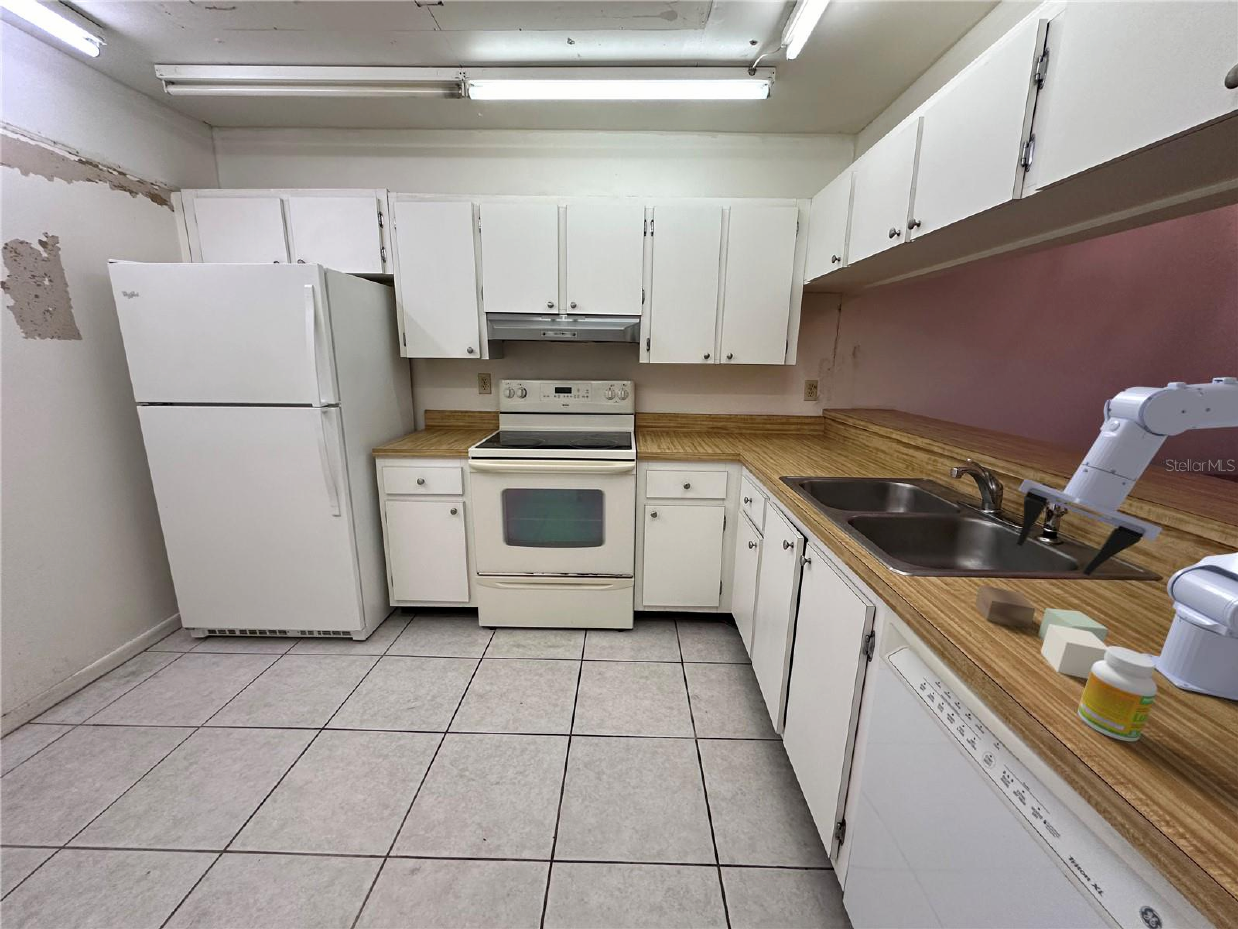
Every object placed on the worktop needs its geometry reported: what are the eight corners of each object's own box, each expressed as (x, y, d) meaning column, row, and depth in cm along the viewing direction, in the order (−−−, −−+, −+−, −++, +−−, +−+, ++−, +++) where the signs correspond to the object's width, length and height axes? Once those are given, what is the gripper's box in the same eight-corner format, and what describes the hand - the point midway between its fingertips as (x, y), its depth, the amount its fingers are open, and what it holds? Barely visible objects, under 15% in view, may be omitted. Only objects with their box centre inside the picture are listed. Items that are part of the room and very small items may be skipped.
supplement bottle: (1134, 750, 54) (1162, 677, 51) (1071, 720, 58) (1094, 651, 56) (1142, 730, 57) (1168, 660, 55) (1082, 703, 61) (1103, 637, 59)
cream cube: (1081, 661, 70) (1090, 631, 69) (1101, 682, 66) (1112, 651, 64) (1040, 652, 72) (1049, 623, 71) (1057, 672, 67) (1066, 642, 66)
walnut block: (1014, 612, 84) (1020, 592, 83) (1029, 630, 78) (1035, 608, 77) (974, 604, 86) (979, 585, 85) (986, 621, 80) (992, 600, 79)
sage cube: (1070, 638, 76) (1079, 611, 75) (1098, 658, 71) (1108, 629, 70) (1037, 635, 76) (1046, 608, 75) (1063, 654, 72) (1072, 625, 70)
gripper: (1039, 450, 65) (988, 534, 69) (1188, 497, 56) (1119, 592, 59) (1043, 453, 70) (996, 531, 74) (1180, 497, 61) (1118, 584, 64)
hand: (1051, 558), depth 67 cm, fingers open, 7 cm apart
